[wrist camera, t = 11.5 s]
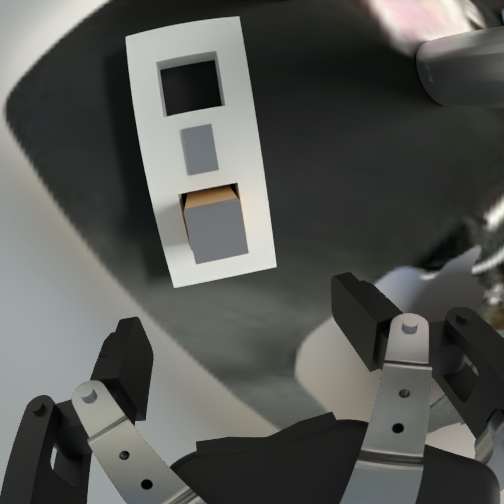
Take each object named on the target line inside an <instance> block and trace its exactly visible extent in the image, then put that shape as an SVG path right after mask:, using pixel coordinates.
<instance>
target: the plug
mask: <svg viewBox="0 0 504 504" xmlns="http://www.w3.org/2000/svg"><path fill="white" fill-rule="evenodd" d="M184 216H185V221H186V225H187V230H188V234H189V238H190V242H191V246H192V251H193V255H194V259H195V263H196V265H197V264H201V263H206V262H211V261H215V260H220V259H225V258H230V257H234V256H239V255H244V254H248V253H249V251H248V245H247V240H246V234H245V228H244V222H243V216H242V210H241V204H240V200H239V199H238V198H237V196H236V195H235V193H234V192H233V191H232V189H231V188H230V186H229V185H227V186H222V187H217V188H212V189H207V190H202V191H197V192H193V193H188V195H187V199H186V204H185V209H184Z"/></svg>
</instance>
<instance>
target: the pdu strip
mask: <svg viewBox="0 0 504 504" xmlns="http://www.w3.org/2000/svg"><path fill="white" fill-rule="evenodd" d="M126 49H127V59H128V68H129V77H130V85H131V92H132V99H133V106H134V113H135V119H136V125H137V131H138V137H139V143H140V148H141V154H142V159H143V164H144V169H145V174H146V179H147V183H148V188H149V192H150V197H151V201H152V206H153V210H154V214H155V218H156V222H157V226H158V230H159V234H160V238H161V242H162V246H163V250H164V253H165V257H166V261H167V264H168V268H169V271H170V275H171V278H172V282H173V285H174V288H177V287H182V286H187V285H192V284H197V283H202V282H207V281H212V280H217V279H221V278H226V277H231V276H236V275H241V274H245V273H250V272H255V271H260V270H264V269H269V268H274V267H277V266H276V258H275V250H274V243H273V235H272V227H271V220H270V212H269V205H268V197H267V190H266V183H265V176H264V169H263V162H262V155H261V148H260V141H259V134H258V128H257V121H256V115H255V108H254V102H253V96H252V89H251V83H250V77H249V71H248V65H247V59H246V53H245V47H244V41H243V36H242V30H241V24H240V19H239V16H238V17H226V18H217V19H208V20H201V21H194V22H188V23H182V24H177V25H172V26H167V27H162V28H158V29H153V30H149V31H145V32H141V33H137V34H134V35H130V36H127V37H126ZM211 60H215V65H216V71H217V78H218V84H219V91H220V97H221V103H222V106H219V107H213V108H207V109H202V110H196V111H191V112H186V113H181V114H176V115H172V116H167V114H166V108H165V101H164V95H163V88H162V81H161V74H160V70H163V69H167V68H172V67H177V66H182V65H187V64H192V63H198V62H204V61H211ZM232 183H234V184H235V190H236V196H237V198H238V199H239V200H240V204H241V210H242V216H243V222H244V228H245V234H246V240H247V245H248V251H249V253H248V254H244V255H239V256H234V257H230V258H225V259H220V260H215V261H211V262H206V263H201V264H197V265H196V263H195V259H194V255H193V251H192V246H191V242H190V238H189V234H188V230H187V225H186V221H185V216H184V205H183V200H182V196H181V194H182V193H187V192H191V191H196V190H201V189H206V188H211V187H216V186H222V185H227V184H232Z"/></svg>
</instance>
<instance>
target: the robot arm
mask: <svg viewBox="0 0 504 504" xmlns="http://www.w3.org/2000/svg"><path fill="white" fill-rule="evenodd" d="M416 66H417V71H418V75H419V78H420V80H421V83H422V85H423V87H424V88H425V90H426V91H427V93H428V94H429V96H430V97H431V98H432V99H433V100H434V101H436V102H437V103H439V104H441V105H443V106H468V107H494V108H504V26H501V27H494V28H488V29H482V30H476V31H471V32H466V33H461V34H456V35H452V36H447V37H443V38H439V39H435V40H431V41H428V42H425V43H423V44H422V45H420V47H419V48H418V51H417V54H416ZM331 297H332V313H333V317H334V319H335V321H336V323H337V324H338V326H339V327H340V329H341V330H342V332H343V333H344V334H345V336H346V337H347V339H348V340H349V342H350V343H351V345H352V346H353V347H354V349H355V350H356V352H357V353H358V355H359V356H360V358H361V359H362V361H363V362H364V364H365V365H366V367H367V368H368V370H369V371H370V372H371V371H374V370H376V369H379V368H380V369H381V370H382V374H381V378H380V383H379V387H378V391H377V395H376V399H375V403H374V407H373V411H372V414H371V418H370V421H369V423H368V422H365V421H359V420H348V419H347V420H346V419H345V420H336V418H335V416H334V414H333V412H329V413H326V414H323V415H320V416H317V417H313V418H310V419H306V420H303V421H300V422H298V423H296V424H294V425H292V426H290V427H288V428H286V429H284V430H281V431H279V432H277V433H275V434H273V435H271V436H268V437H256V438H255V437H226V438H220V439H212V440H205V441H197V442H196V447H197V451H195V452H193V453H190V454H188V455H186V456H184V457H182V458H181V459H179V460H178V461H176V462H175V463H173V464H172V465H171V466H170V467H169V466H168V465H167V464H166V463H165V462H164V461H163V460H162V459H161V458H160V457H159V455H158V454H157V453H156V452H155V451H154V450H153V449H152V447H151V446H150V445H149V444H148V443H147V442H146V440H145V439H144V438H143V437H142V436H141V434H140V433H139V432H138V431H137V429H136V428H135V427H134V426H135V421H143V420H146V411H147V403H148V395H149V387H150V380H151V373H152V366H153V351H152V347H151V344H150V342H149V340H148V338H147V335H146V333H145V331H144V328H143V326H142V323H141V321H140V319H139V318H138V317H132V318H126V319H121V320H120V321H119V323H118V326H117V328H116V331H115V332H113V333H111V334H110V335H109V336H108V337H107V338H106V339H105V341H104V343H103V345H102V348H101V351H100V353H99V356H98V357H99V358H98V359H97V361H96V364H95V367H94V370H93V373H92V376H91V379H90V381H87V382H85V383H83V384H81V385H80V386H78V387H77V388H76V390H75V391H74V392H73V394H72V399H71V400H68V401H65V402H62V403H58V404H55V402H54V401H53V400H52V399H51V397H49V396H46V395H41V396H38V397H36V398H34V399H33V400H31V401H30V402H29V404H28V405H27V407H26V409H25V412H24V415H23V417H22V420H21V423H20V426H19V429H18V432H17V435H16V438H15V441H14V444H13V447H12V451H11V454H10V458H9V461H8V465H7V469H6V473H5V477H4V481H3V486H2V491H1V495H0V504H87V493H88V482H89V481H88V480H89V472H90V463H91V455H92V452H93V453H94V454H95V456H96V458H97V460H98V461H99V463H100V465H101V466H102V468H103V469H104V471H105V473H106V474H107V476H108V477H109V479H110V480H111V482H112V483H113V485H114V486H115V488H116V489H117V491H118V492H119V494H120V495H121V496H122V498H123V499H124V501H125V502H126V503H127V504H500V491H501V490H503V489H504V338H503V337H502V336H501V335H500V334H499V333H498V332H496V331H495V330H494V329H493V328H492V327H491V326H490V325H489V324H488V323H487V322H486V321H484V320H483V319H482V318H481V317H480V316H479V315H478V314H477V313H476V312H474V311H473V310H471V309H469V308H465V307H455V308H452V309H450V310H449V311H448V312H447V315H446V319H445V321H440V322H433V323H428V322H427V321H426V320H425V319H424V318H423V317H421V316H419V315H416V314H409V313H406V314H403V312H401V311H400V310H399V309H398V308H397V307H396V306H395V305H394V304H393V303H392V302H391V301H390V300H389V299H388V298H386V296H385V295H384V294H383V293H382V292H381V293H380V290H378V289H377V288H376V287H375V286H374V285H373V284H371V283H368V282H366V281H364V280H362V281H359V280H358V279H357V278H356V277H355V276H354V275H353V274H352V273H350V272H347V273H343V274H339V275H335V276H332V279H331ZM467 358H468V359H469V360H470V361H471V362H472V363H473V364H474V365H475V367H476V368H477V370H478V374H479V377H478V376H477V375H476V374H475V373H474V371H473V370H472V369H471V368H470V367H469V366H468V365H467V363H466V359H467ZM432 378H434V379H435V380H436V382H437V383H438V384H439V386H440V387H441V389H442V390H443V392H444V393H445V394H446V396H447V397H448V398H449V400H450V401H451V403H452V404H453V406H454V407H455V408H456V410H457V411H458V413H459V414H460V416H461V417H462V419H463V420H464V422H465V423H466V424H467V426H468V427H469V429H470V430H471V432H472V433H473V435H474V436H475V438H476V441H475V446H474V447H475V452H476V454H475V459H471V458H467V457H464V456H460V455H457V454H454V453H451V452H447V451H444V450H441V449H438V448H435V447H432V446H429V445H426V444H425V440H426V433H427V426H428V418H429V408H430V397H431V382H432ZM53 447H54V448H56V449H57V453H56V458H55V464H54V469H53V470H52V467H51V463H50V460H51V454H52V450H53Z"/></svg>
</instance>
